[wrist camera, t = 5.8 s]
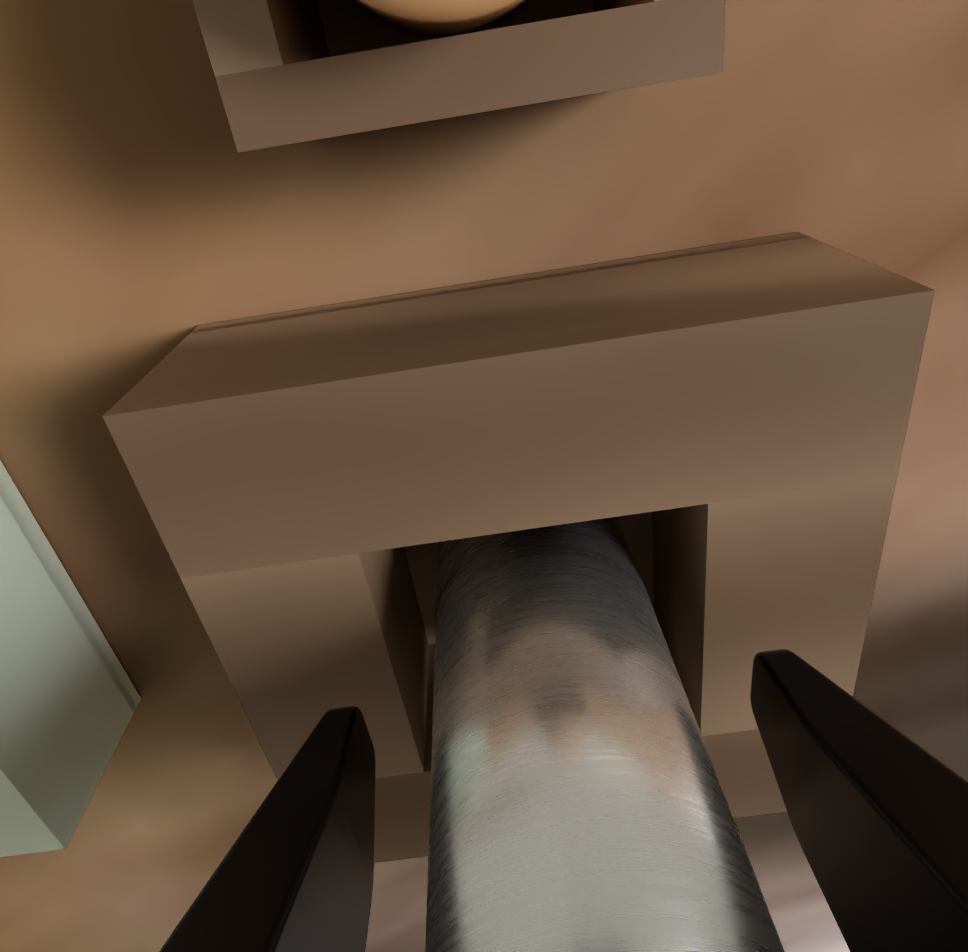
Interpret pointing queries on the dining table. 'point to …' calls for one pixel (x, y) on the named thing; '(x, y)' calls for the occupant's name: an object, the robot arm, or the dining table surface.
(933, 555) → the dining table surface
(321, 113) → the button housing
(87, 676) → the block
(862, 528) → the block
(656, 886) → the steel pin
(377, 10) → the button
